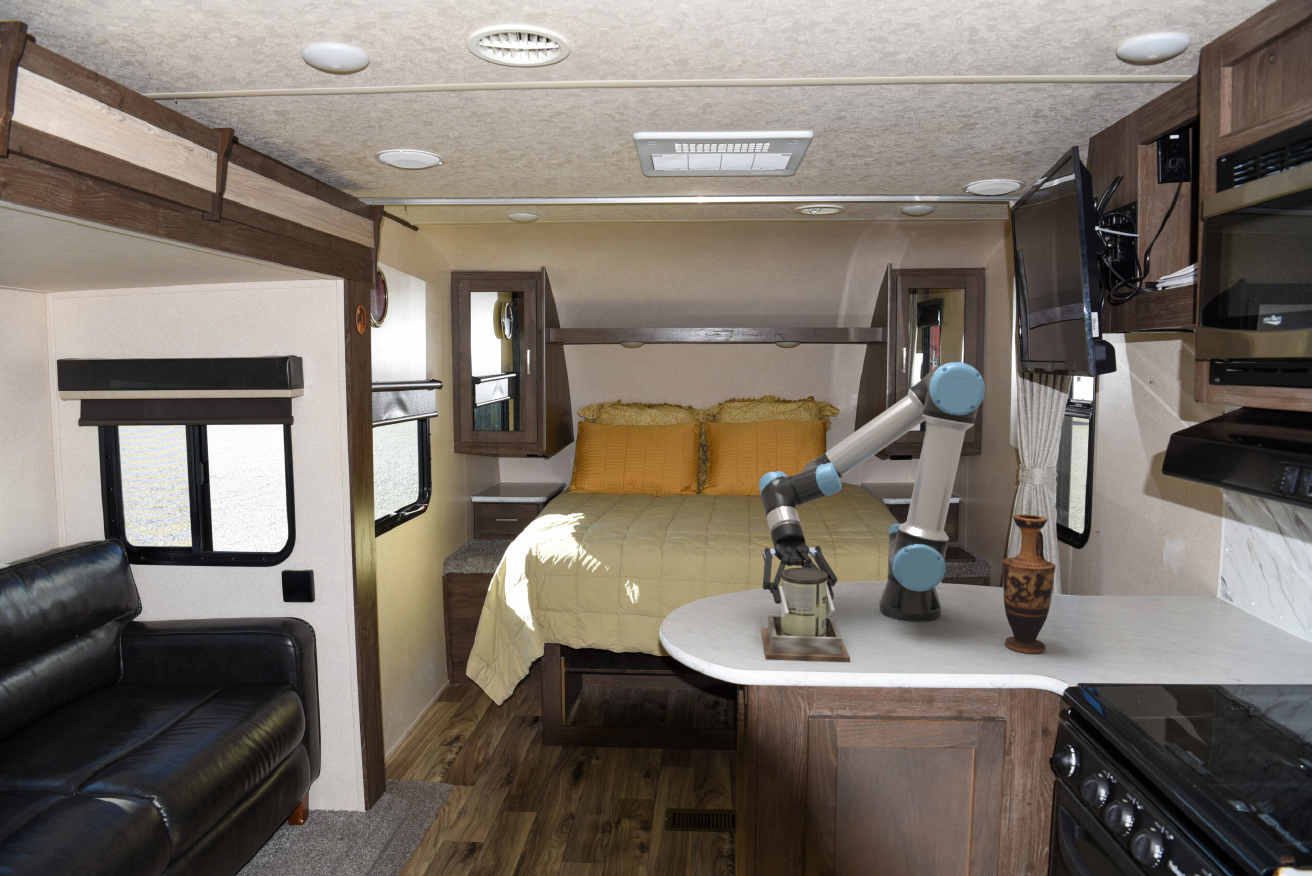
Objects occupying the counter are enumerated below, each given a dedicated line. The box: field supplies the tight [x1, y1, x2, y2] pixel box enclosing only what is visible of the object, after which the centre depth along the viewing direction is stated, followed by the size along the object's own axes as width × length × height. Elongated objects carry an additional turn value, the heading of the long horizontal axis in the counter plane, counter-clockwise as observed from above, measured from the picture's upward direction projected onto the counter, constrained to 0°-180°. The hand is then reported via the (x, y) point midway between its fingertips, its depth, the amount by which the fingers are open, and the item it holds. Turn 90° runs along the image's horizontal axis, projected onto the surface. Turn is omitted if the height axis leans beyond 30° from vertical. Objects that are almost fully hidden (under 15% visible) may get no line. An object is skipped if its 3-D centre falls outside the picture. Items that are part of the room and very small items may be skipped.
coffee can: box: [780, 567, 828, 637], centre depth 183 cm, size 10×10×14 cm
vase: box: [1001, 513, 1056, 654], centre depth 182 cm, size 11×11×30 cm
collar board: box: [760, 614, 851, 663], centre depth 184 cm, size 18×18×4 cm
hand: (808, 614), depth 180 cm, fingers closed on coffee can, 10 cm apart
